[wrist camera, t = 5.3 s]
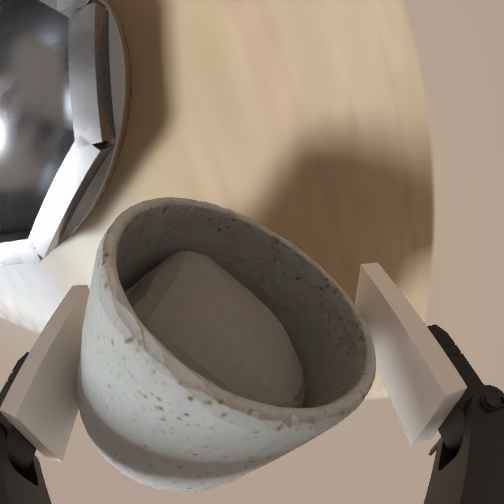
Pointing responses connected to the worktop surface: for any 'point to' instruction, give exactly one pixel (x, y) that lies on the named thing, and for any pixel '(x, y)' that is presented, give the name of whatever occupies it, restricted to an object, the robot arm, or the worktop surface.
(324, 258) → the worktop surface
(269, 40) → the worktop surface
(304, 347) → the ceramic mug
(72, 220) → the ring plate
